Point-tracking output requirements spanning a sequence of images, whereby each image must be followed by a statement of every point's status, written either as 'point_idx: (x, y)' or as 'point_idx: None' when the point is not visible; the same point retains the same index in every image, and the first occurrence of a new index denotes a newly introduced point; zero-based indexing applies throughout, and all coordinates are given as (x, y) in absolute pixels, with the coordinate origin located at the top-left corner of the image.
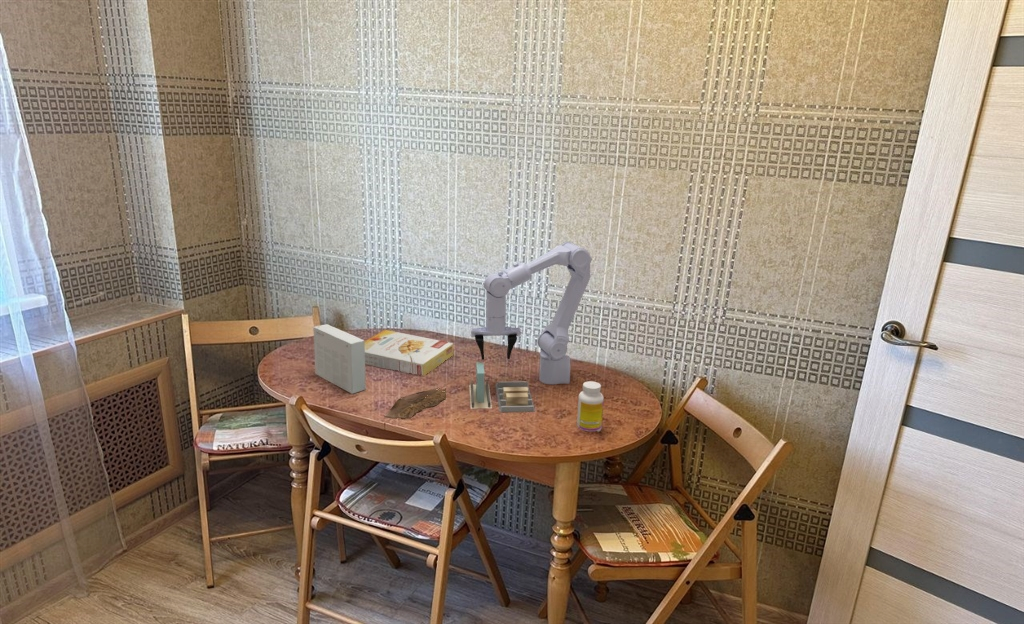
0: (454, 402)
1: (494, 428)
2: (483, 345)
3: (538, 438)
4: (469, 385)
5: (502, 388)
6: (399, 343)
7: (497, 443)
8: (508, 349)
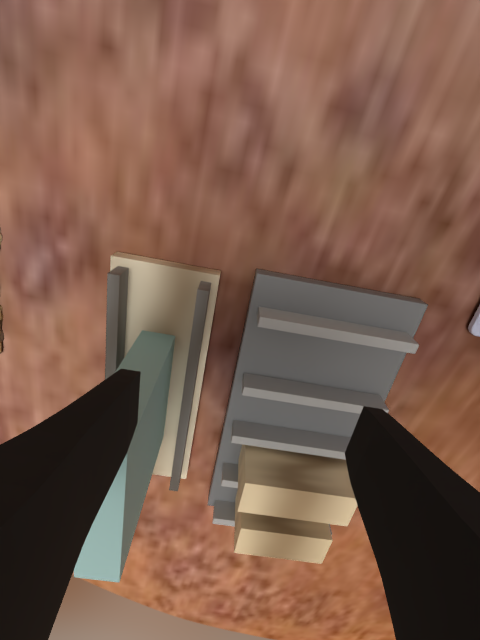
0: (45, 381)
1: (176, 546)
2: (49, 627)
3: (281, 597)
4: (111, 266)
5: (261, 394)
6: None
7: (170, 596)
8: (381, 566)
